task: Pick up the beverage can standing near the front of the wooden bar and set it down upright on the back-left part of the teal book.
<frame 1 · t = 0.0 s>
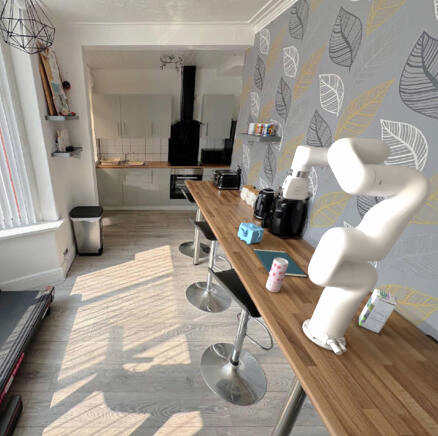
hand: (288, 209, 113), 31 cm above the table, tool pointing down, fingers open, 9 cm apart
light blue box: (247, 240, 148), on the table
teal book: (277, 262, 127), on the table
beverage can: (272, 288, 106), on the table
syrup box: (368, 325, 89), on the table
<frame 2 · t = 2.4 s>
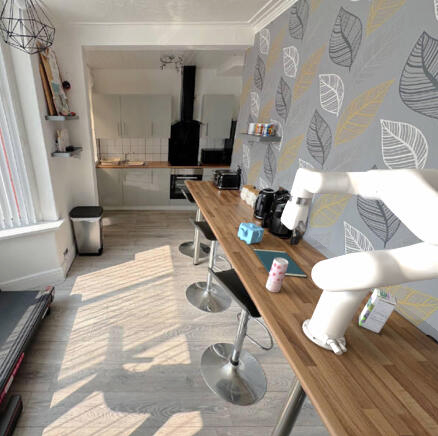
hand: (287, 238, 98), 25 cm above the table, tool pointing down, fingers open, 9 cm apart
nothing on the table moved.
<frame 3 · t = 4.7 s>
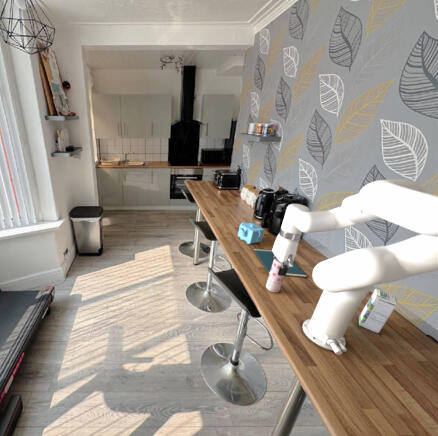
hand: (278, 270, 102), 10 cm above the table, tool pointing down, fingers closed on beverage can, 5 cm apart
beverage can: (272, 288, 106), on the table, touching gripper
everything else where it was.
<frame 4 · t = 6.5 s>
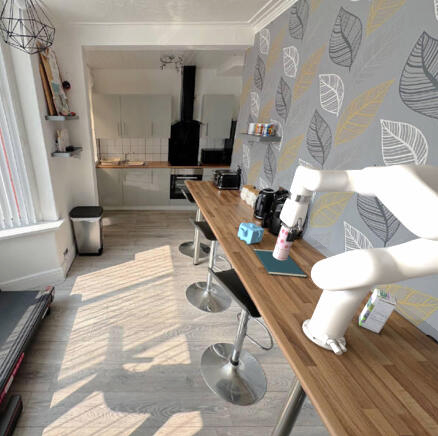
hand: (286, 237, 100), 25 cm above the table, tool pointing down, fingers closed on beverage can, 5 cm apart
beverage can: (279, 257, 104), point 14 cm above the table, touching gripper
everything else where it was.
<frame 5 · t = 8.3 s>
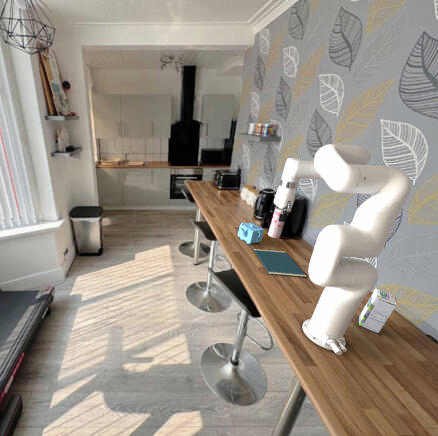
hand: (278, 218, 120), 24 cm above the table, tool pointing down, fingers closed on beverage can, 5 cm apart
beverage can: (273, 236, 124), point 14 cm above the table, touching gripper
everything else where it was.
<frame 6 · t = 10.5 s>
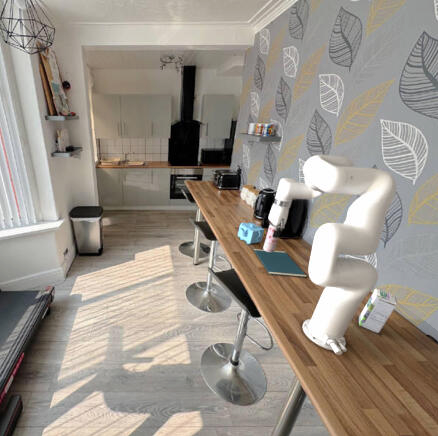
hand: (273, 234, 126), 14 cm above the table, tool pointing down, fingers closed on beverage can, 5 cm apart
beverage can: (268, 250, 130), point 4 cm above the table, touching gripper
everything else where it was.
when the fingers open (10 cm above the table, at t = 12.0 s): beverage can stays where it is, resting on teal book.
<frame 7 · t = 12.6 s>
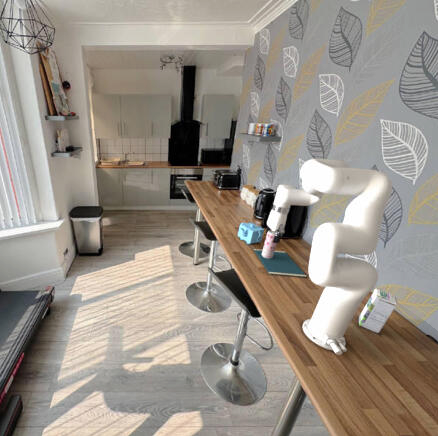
hand: (272, 238, 127), 12 cm above the table, tool pointing down, fingers open, 9 cm apart
beverage can: (266, 256, 131), resting on teal book
everything else where it was.
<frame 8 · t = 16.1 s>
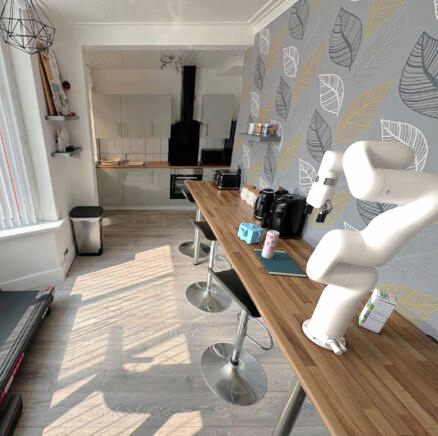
hand: (313, 217, 106), 30 cm above the table, tool pointing down, fingers open, 9 cm apart
nothing on the table moved.
at the end: beverage can inside the target area on the teal book (1.2 cm from its centre), point 0.2 cm above the teal book's base; beverage can tilted 0°; the gripper is holding nothing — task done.
